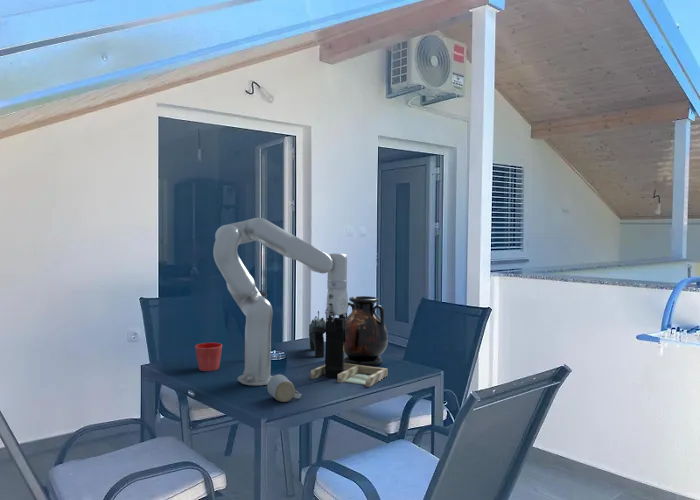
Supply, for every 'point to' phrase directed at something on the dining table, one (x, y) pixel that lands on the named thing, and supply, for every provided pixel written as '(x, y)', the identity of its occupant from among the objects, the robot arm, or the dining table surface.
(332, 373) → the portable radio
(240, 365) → the dining table surface
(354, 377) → the slot rack
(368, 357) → the amphora vase
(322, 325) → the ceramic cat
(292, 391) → the ceramic mug
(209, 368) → the flower pot
